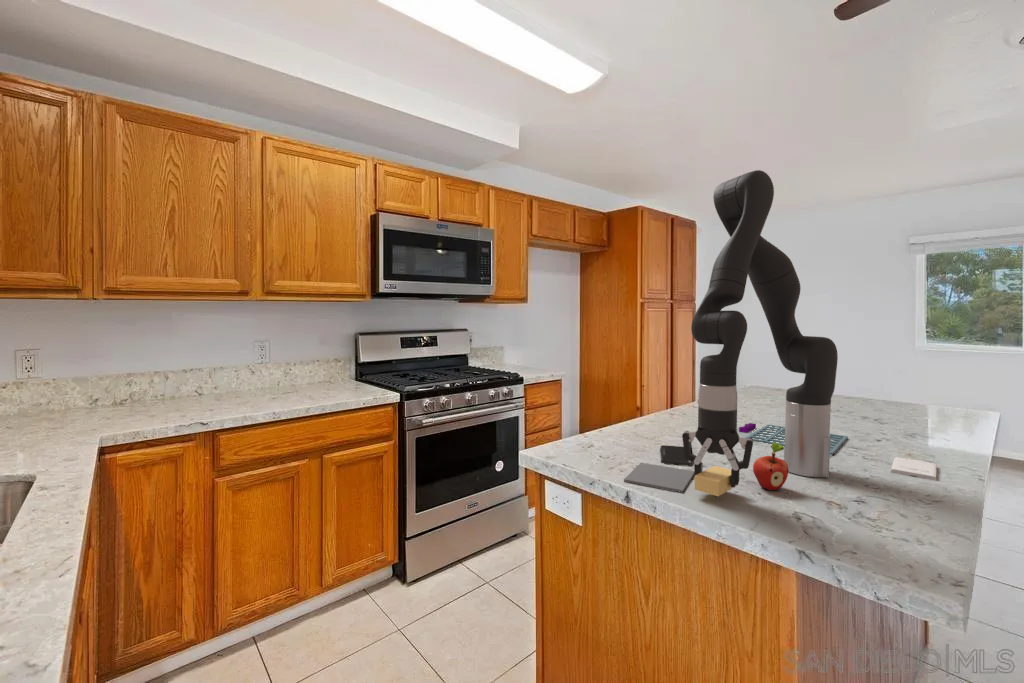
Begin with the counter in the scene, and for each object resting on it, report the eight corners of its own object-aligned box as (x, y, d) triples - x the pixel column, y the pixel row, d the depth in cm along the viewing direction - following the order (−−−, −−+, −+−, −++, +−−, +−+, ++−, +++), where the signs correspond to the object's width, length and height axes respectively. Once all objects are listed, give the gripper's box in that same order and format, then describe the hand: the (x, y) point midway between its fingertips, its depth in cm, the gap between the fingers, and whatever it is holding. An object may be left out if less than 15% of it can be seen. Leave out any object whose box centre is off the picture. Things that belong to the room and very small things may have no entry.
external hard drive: (936, 470, 117) (935, 483, 107) (894, 462, 122) (890, 474, 113) (936, 463, 116) (936, 476, 107) (894, 456, 122) (890, 468, 113)
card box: (737, 485, 100) (737, 471, 99) (718, 496, 94) (718, 481, 93) (714, 478, 103) (714, 465, 103) (694, 489, 97) (694, 475, 97)
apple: (788, 497, 98) (789, 450, 97) (751, 491, 101) (753, 446, 101) (787, 485, 105) (788, 441, 104) (753, 480, 108) (754, 437, 107)
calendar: (829, 460, 124) (830, 451, 124) (720, 440, 144) (720, 432, 144) (848, 441, 143) (848, 433, 143) (749, 425, 163) (749, 418, 163)
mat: (694, 473, 112) (694, 471, 112) (682, 493, 100) (682, 490, 100) (640, 464, 119) (641, 462, 119) (623, 481, 107) (623, 479, 107)
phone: (689, 447, 132) (692, 463, 118) (689, 451, 132) (692, 467, 118) (660, 445, 134) (660, 460, 120) (660, 448, 134) (660, 464, 120)
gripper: (757, 405, 97) (755, 483, 98) (685, 399, 104) (684, 472, 105) (754, 412, 90) (752, 496, 92) (678, 405, 98) (677, 483, 99)
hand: (716, 483), depth 98 cm, fingers closed on card box, 6 cm apart
